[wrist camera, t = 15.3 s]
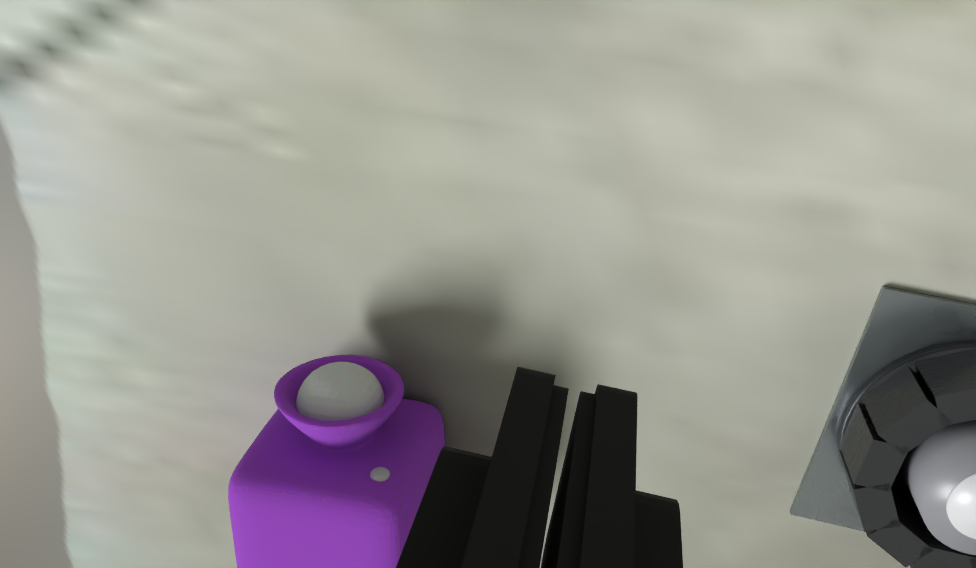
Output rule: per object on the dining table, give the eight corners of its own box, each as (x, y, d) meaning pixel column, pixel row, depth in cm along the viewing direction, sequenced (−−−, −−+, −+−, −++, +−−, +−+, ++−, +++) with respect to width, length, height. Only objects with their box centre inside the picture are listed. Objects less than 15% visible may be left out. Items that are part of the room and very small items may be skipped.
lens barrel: (882, 285, 37) (909, 329, 33) (1153, 339, 36) (1214, 391, 32) (789, 510, 43) (803, 569, 39) (1017, 562, 42) (1054, 628, 38)
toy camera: (437, 319, 42) (381, 429, 33) (477, 519, 48) (438, 659, 39) (255, 329, 44) (157, 433, 36) (313, 518, 50) (241, 649, 41)
